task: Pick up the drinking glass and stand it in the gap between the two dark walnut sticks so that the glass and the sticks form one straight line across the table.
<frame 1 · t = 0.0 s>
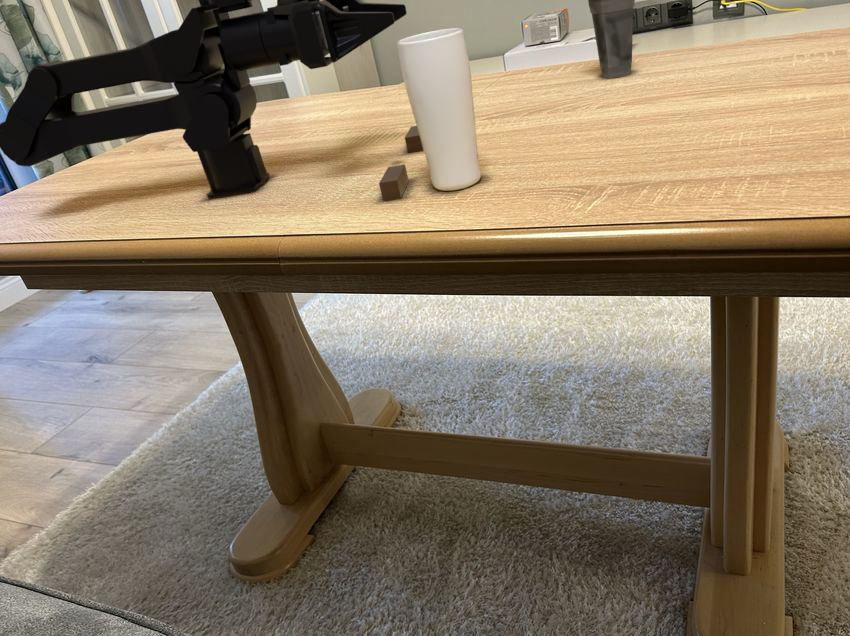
hand: (400, 13, 80), 17 cm above the table, tool horizontal, fingers open, 9 cm apart
near stick: (396, 190, 78), on the table
drinking glass: (457, 185, 76), on the table
beverage cup: (616, 75, 112), on the table
far stick: (418, 145, 94), on the table
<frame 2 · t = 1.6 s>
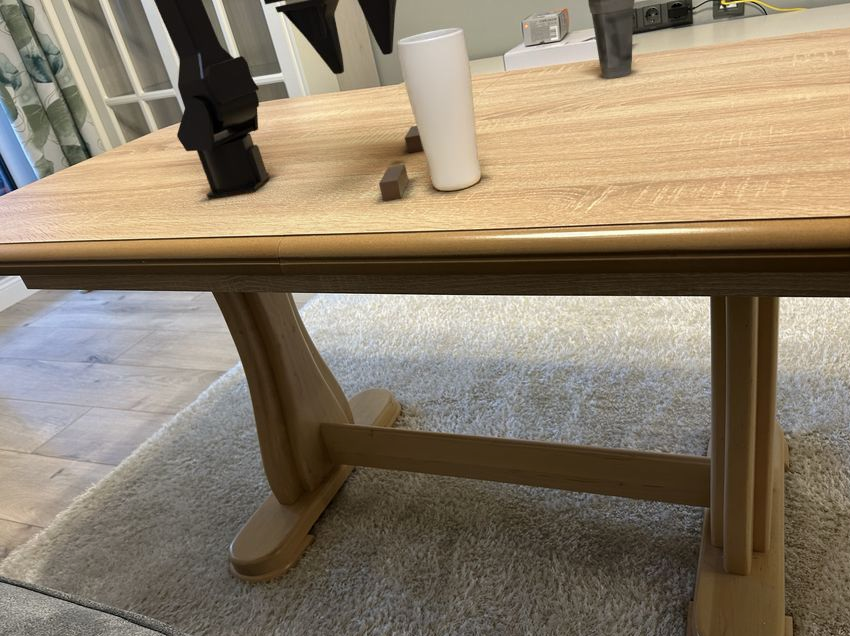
hand: (364, 63, 74), 13 cm above the table, tool pointing down, fingers open, 9 cm apart
nothing on the table moved.
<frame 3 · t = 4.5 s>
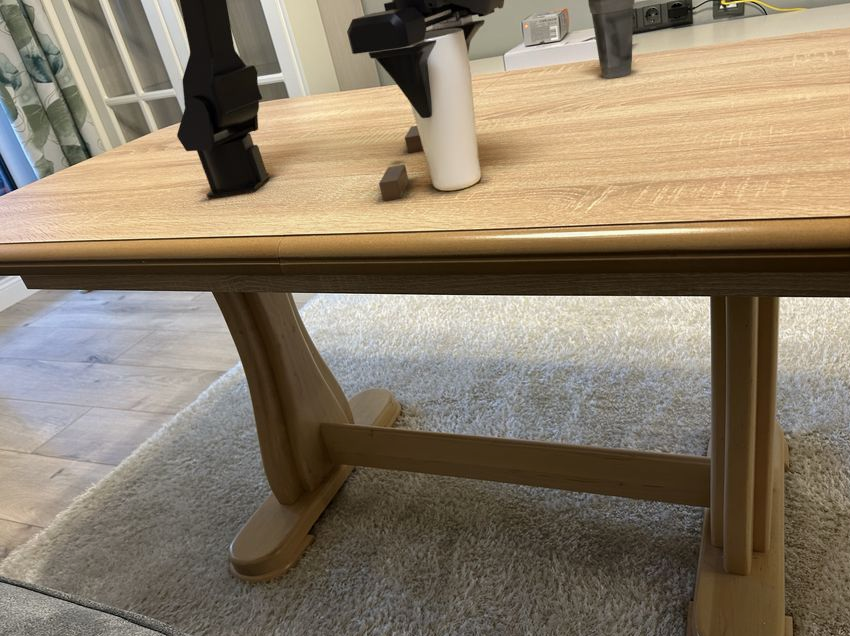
hand: (443, 108, 72), 8 cm above the table, tool pointing down, fingers closed on drinking glass, 6 cm apart
drinking glass: (457, 185, 76), on the table, touching gripper
everything else where it was.
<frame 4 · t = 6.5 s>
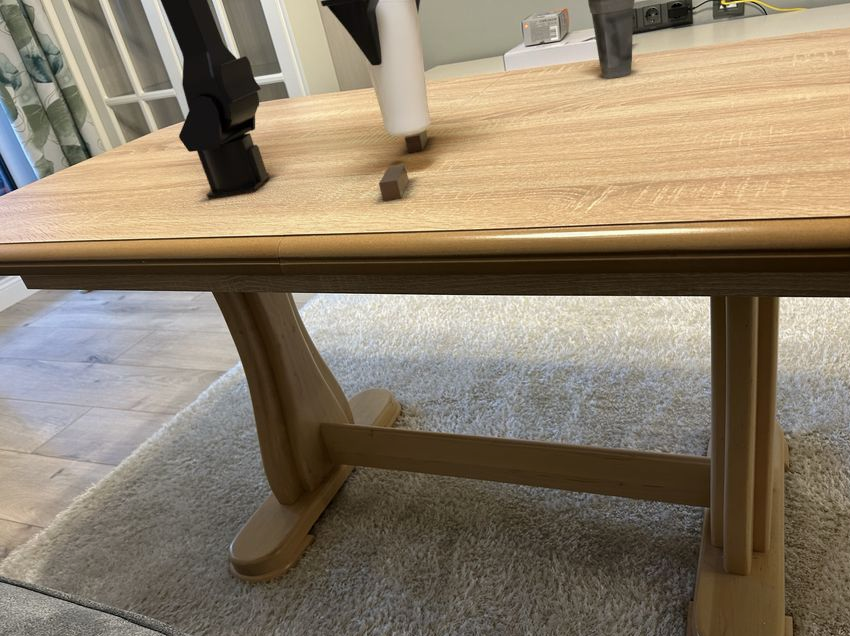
hand: (393, 58, 77), 13 cm above the table, tool pointing down, fingers closed on drinking glass, 6 cm apart
drinking glass: (409, 133, 82), point 4 cm above the table, touching gripper
everything else where it was.
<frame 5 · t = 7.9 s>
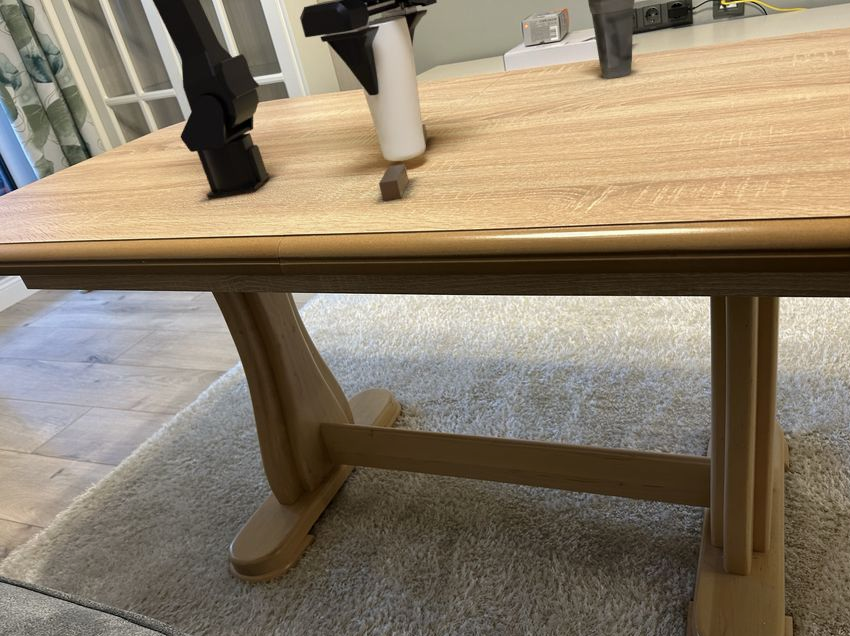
hand: (390, 87, 82), 9 cm above the table, tool pointing down, fingers closed on drinking glass, 6 cm apart
drinking glass: (405, 157, 86), point 1 cm above the table, touching gripper
everything else where it was.
when the fingers open (8 cm above the table, at t = 8.8 s): drinking glass stays where it is, on the table.
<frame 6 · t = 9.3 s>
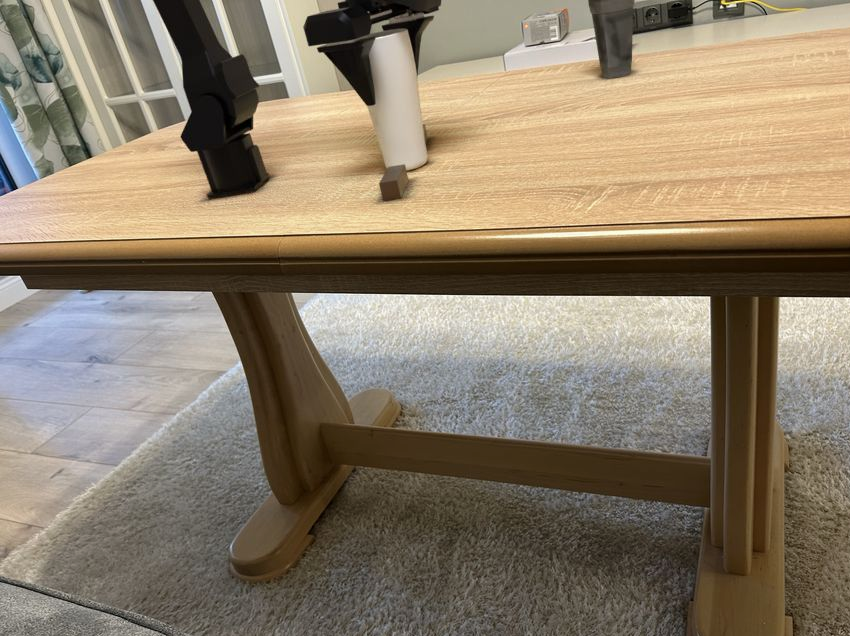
hand: (392, 94, 82), 8 cm above the table, tool pointing down, fingers open, 9 cm apart
drinking glass: (408, 167, 86), on the table
everything else where it was.
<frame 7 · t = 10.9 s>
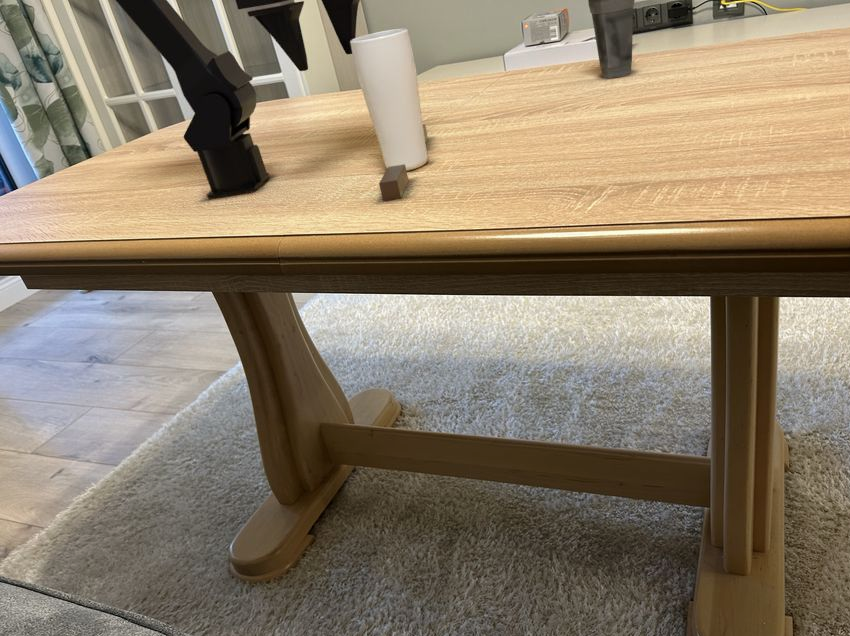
hand: (328, 61, 84), 13 cm above the table, tool pointing down, fingers open, 9 cm apart
nothing on the table moved.
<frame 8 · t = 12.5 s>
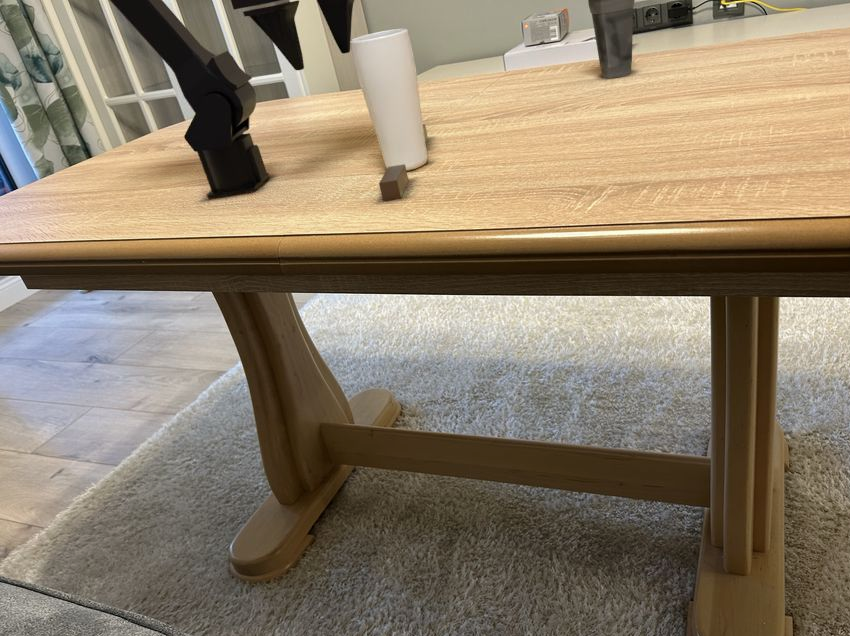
hand: (323, 61, 84), 13 cm above the table, tool pointing down, fingers open, 9 cm apart
nothing on the table moved.
at the end: drinking glass 0.1 cm from the target spot on the table beside the far stick, on the table; drinking glass tilted 0° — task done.
